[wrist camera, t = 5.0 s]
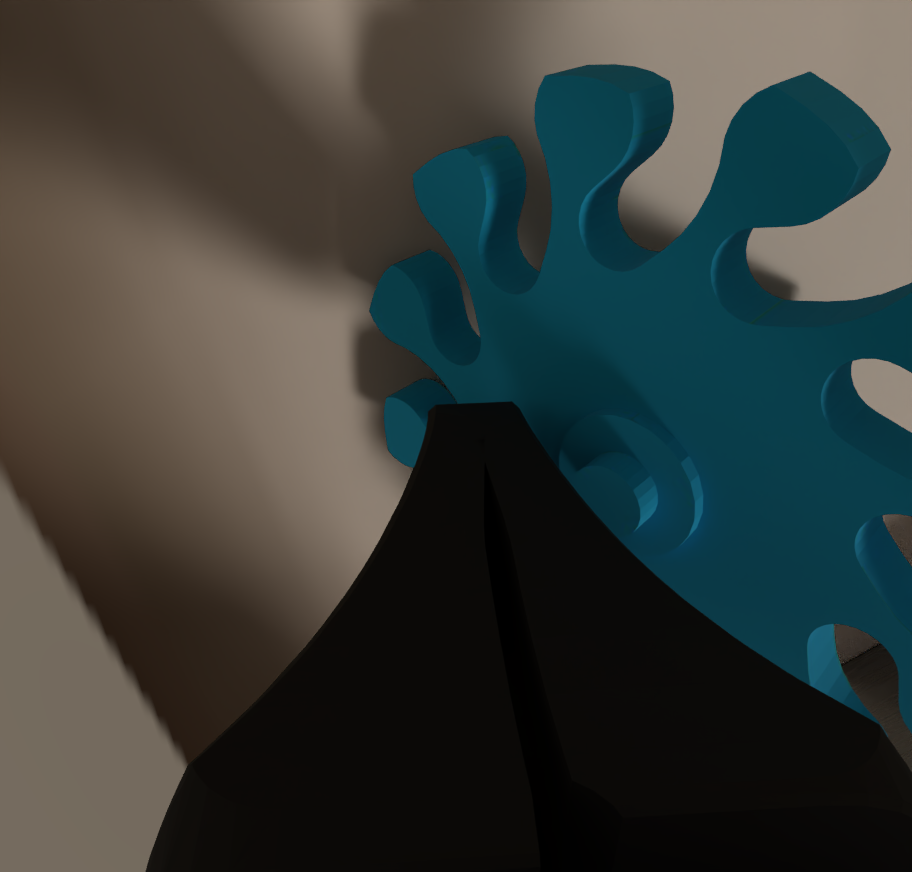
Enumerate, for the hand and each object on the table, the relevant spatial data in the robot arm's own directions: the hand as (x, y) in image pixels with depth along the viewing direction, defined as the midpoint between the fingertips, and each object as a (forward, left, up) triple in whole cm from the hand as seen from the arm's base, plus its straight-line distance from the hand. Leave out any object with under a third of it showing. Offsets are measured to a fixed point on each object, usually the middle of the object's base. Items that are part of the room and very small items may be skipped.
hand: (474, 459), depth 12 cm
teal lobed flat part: (0, -2, -3) cm, 4 cm away
